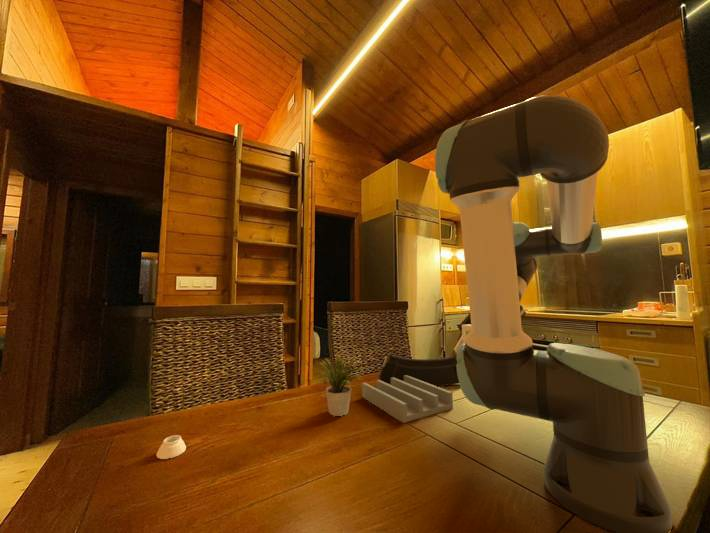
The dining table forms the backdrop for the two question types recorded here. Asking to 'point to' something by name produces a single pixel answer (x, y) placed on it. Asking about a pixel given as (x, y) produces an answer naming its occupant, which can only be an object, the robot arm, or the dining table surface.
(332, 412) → the house plant
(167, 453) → the upturned cream bowl
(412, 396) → the notched rack
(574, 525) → the dining table surface
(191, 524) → the dining table surface
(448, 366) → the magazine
